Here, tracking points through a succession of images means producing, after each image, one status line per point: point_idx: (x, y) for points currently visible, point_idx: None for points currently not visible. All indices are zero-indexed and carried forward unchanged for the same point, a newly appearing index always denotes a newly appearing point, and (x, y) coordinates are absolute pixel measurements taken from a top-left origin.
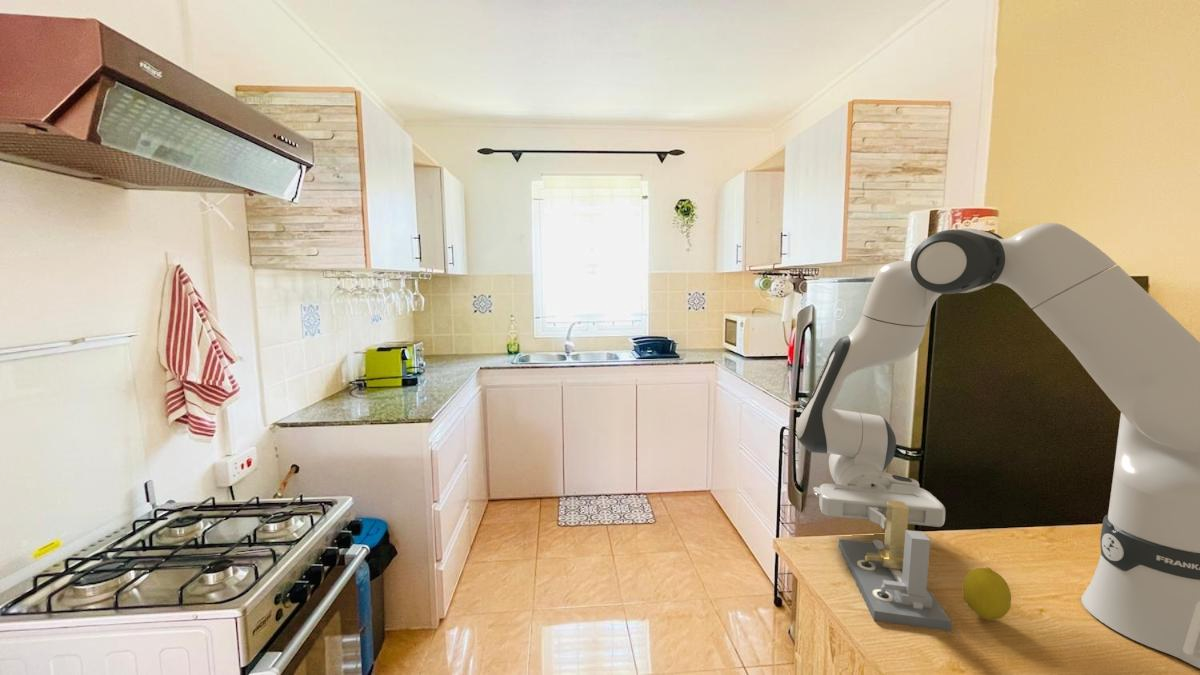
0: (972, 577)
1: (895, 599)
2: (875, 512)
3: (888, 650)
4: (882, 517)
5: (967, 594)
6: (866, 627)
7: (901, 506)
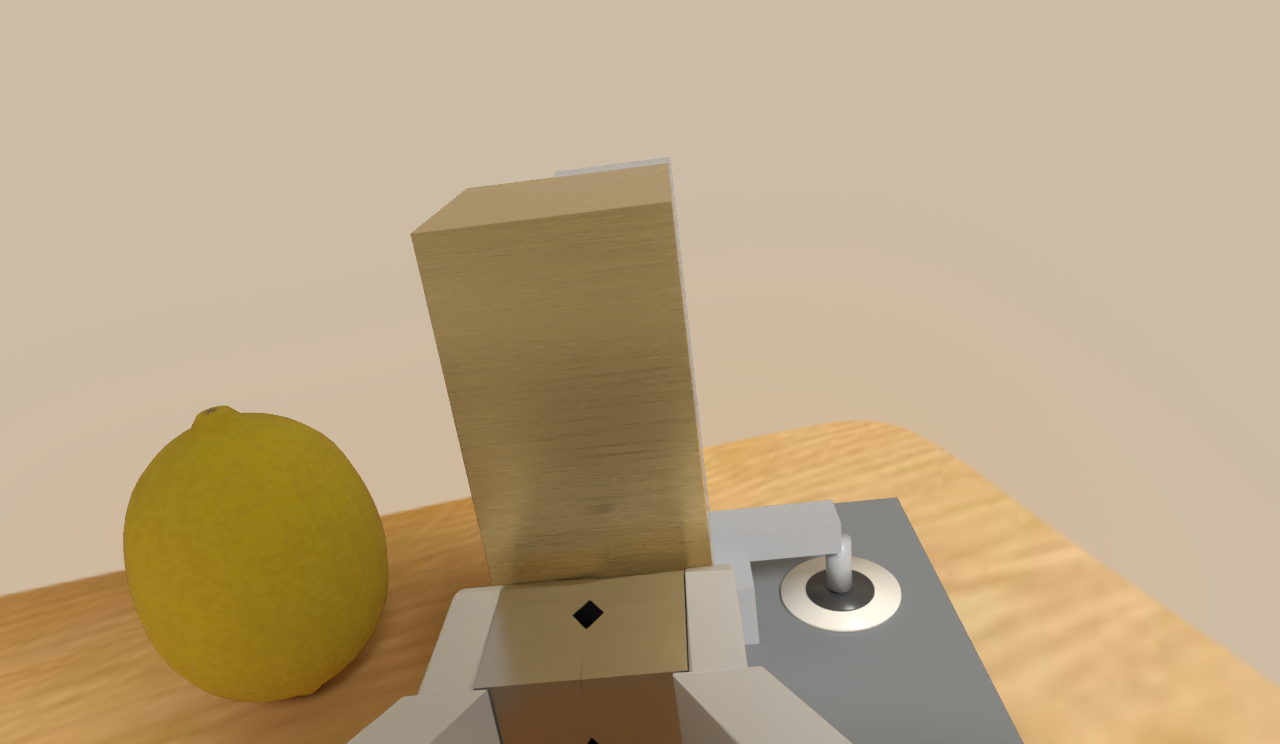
0: (326, 454)
1: (771, 587)
2: (832, 733)
3: (852, 450)
4: (734, 605)
5: (383, 536)
6: (931, 506)
7: (533, 190)
